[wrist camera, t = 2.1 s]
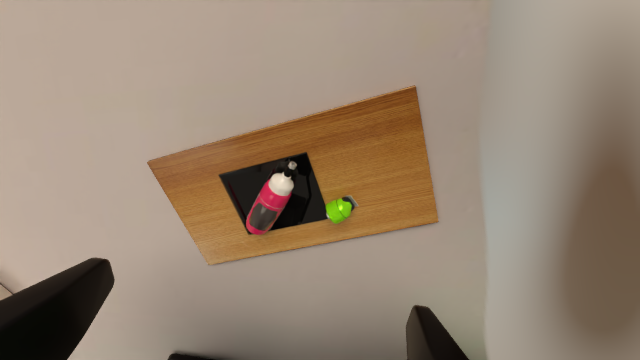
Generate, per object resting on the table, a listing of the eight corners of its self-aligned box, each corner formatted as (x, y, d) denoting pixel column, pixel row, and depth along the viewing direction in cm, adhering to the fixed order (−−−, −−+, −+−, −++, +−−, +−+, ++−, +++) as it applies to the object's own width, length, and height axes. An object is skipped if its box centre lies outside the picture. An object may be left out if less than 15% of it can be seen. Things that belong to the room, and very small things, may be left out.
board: (437, 219, 14) (446, 239, 13) (210, 262, 17) (198, 283, 16) (414, 85, 12) (422, 94, 10) (149, 160, 14) (128, 175, 13)
